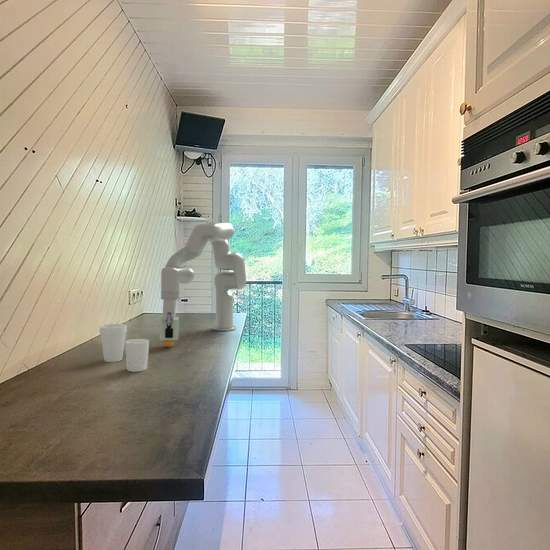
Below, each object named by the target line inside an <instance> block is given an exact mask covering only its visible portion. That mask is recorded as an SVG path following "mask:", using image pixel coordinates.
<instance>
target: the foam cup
mask: <svg viewBox="0 0 550 550" xmlns="http://www.w3.org/2000/svg"><path fill="white" fill-rule="evenodd" d="M127 332H128V325H127V324H125V323H107V324H102V325H99V334H100V338H101V339H100V340H101V347H102V353H103V361H104V362H107V363H117V362H120V360H121V361H122V360H123V357H124V350H125V341H126V336H127ZM116 361H117V362H116Z"/></svg>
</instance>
